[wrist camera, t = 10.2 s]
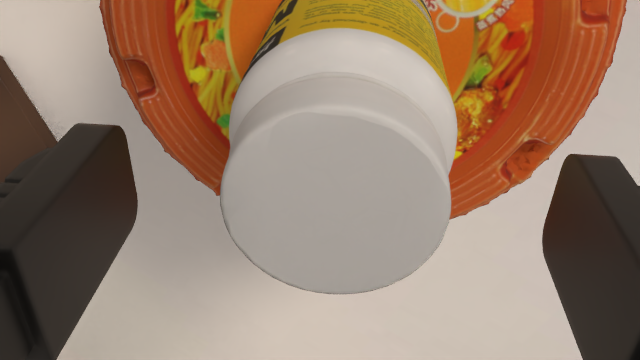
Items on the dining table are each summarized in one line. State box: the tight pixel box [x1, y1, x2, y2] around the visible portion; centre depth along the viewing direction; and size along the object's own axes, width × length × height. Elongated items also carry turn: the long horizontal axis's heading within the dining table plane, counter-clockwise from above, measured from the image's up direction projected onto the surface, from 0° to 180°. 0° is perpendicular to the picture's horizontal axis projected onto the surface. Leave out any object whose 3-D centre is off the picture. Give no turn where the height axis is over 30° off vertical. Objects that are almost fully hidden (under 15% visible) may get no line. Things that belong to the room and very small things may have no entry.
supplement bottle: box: [220, 0, 458, 294], centre depth 13 cm, size 5×5×8 cm
